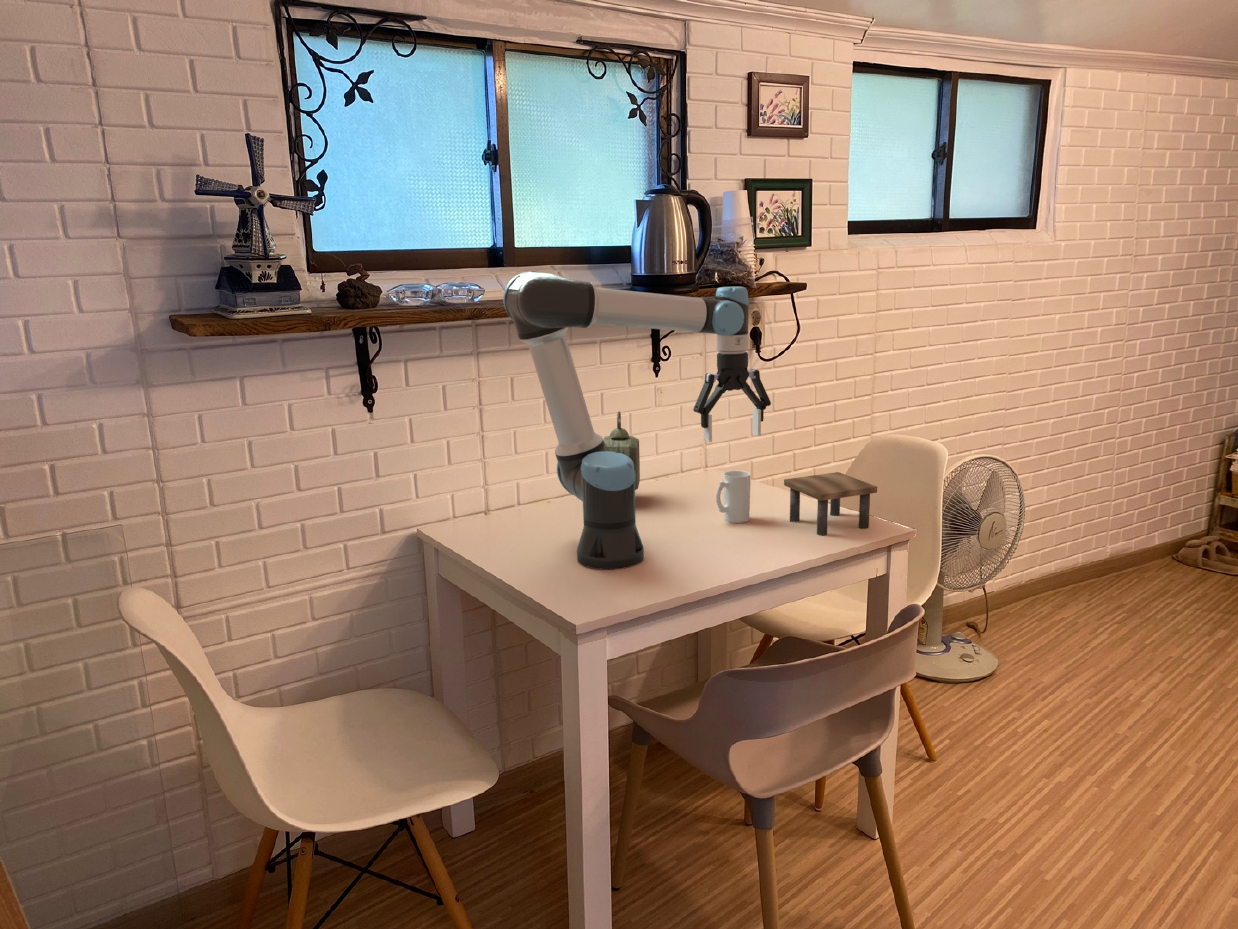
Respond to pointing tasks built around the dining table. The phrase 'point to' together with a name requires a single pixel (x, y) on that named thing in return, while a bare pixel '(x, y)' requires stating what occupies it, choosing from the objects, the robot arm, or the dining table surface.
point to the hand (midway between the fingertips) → (732, 437)
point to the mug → (735, 496)
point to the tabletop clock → (624, 446)
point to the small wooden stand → (829, 496)
